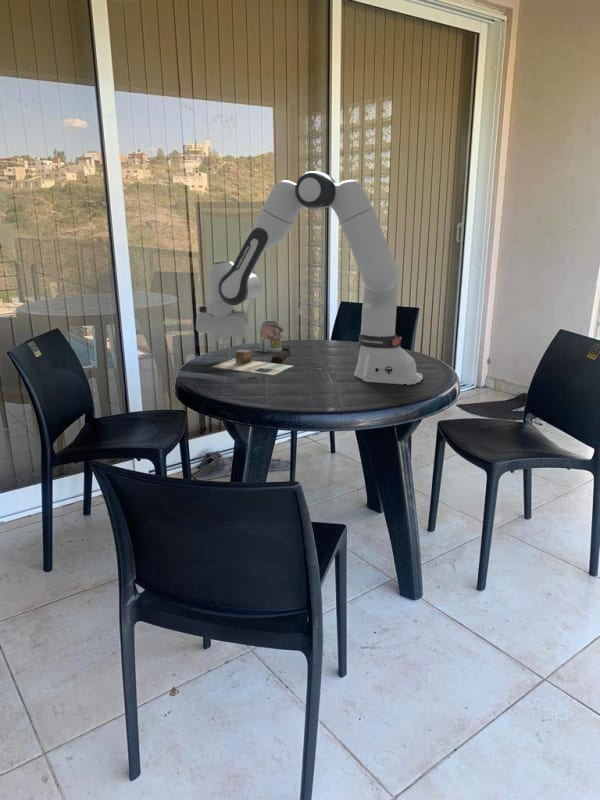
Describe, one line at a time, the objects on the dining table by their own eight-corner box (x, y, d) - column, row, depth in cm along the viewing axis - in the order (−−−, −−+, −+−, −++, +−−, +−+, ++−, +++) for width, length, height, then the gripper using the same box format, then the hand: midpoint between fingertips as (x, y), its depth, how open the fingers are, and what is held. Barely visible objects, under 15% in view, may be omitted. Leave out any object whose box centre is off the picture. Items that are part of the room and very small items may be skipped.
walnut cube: (251, 361, 204) (251, 350, 203) (245, 363, 201) (245, 352, 200) (241, 360, 206) (241, 349, 205) (235, 362, 202) (235, 351, 201)
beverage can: (273, 349, 235) (273, 319, 232) (287, 352, 229) (287, 322, 226) (255, 351, 229) (255, 321, 226) (269, 355, 223) (269, 324, 220)
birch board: (293, 369, 200) (293, 365, 199) (273, 379, 187) (273, 374, 186) (233, 362, 209) (233, 358, 209) (211, 371, 196) (211, 366, 196)
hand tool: (281, 367, 204) (281, 354, 203) (270, 366, 205) (271, 354, 204) (295, 357, 222) (295, 345, 220) (285, 356, 223) (285, 344, 221)
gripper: (252, 310, 200) (252, 349, 204) (203, 305, 208) (203, 343, 212) (243, 312, 195) (243, 352, 198) (193, 307, 203) (194, 346, 206)
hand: (222, 347), depth 205 cm, fingers closed
